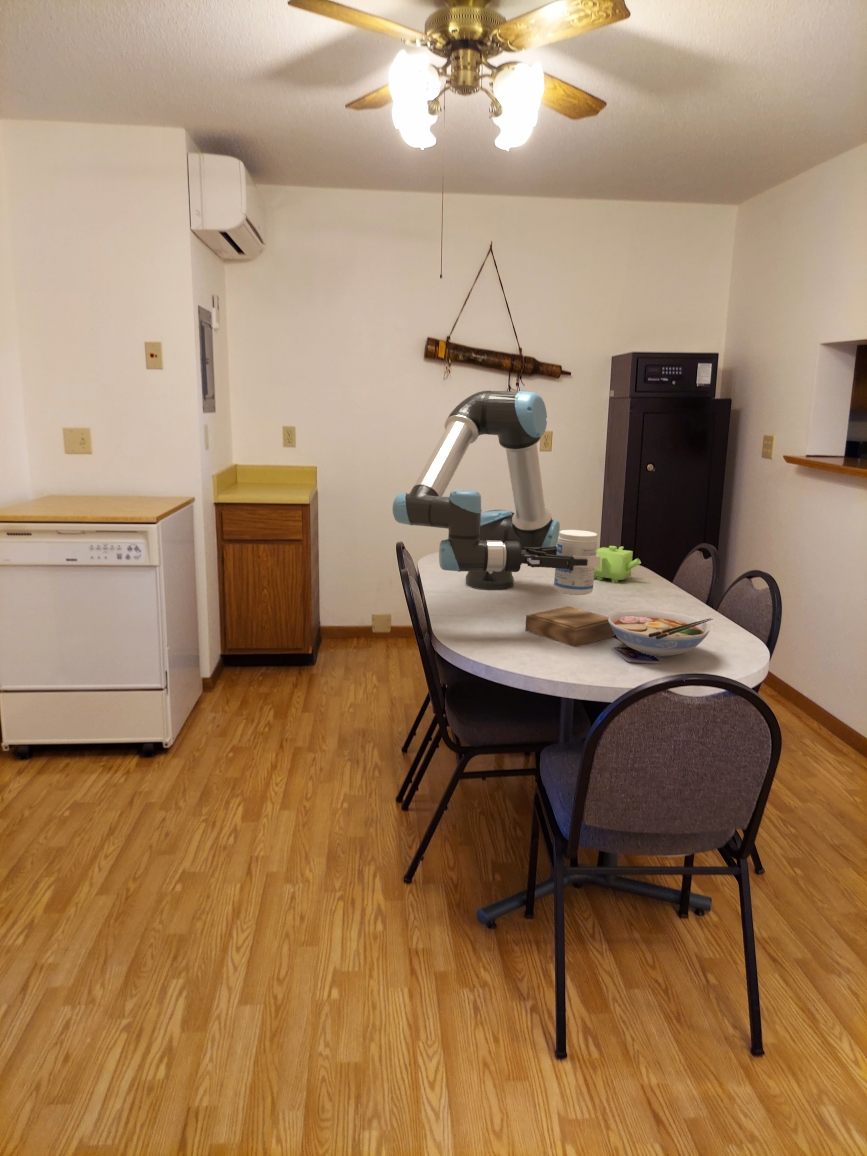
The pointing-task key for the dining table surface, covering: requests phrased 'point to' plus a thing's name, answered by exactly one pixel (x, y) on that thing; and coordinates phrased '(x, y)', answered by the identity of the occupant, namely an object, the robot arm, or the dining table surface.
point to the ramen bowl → (658, 631)
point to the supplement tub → (579, 577)
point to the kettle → (615, 563)
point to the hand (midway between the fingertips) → (593, 557)
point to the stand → (569, 625)
